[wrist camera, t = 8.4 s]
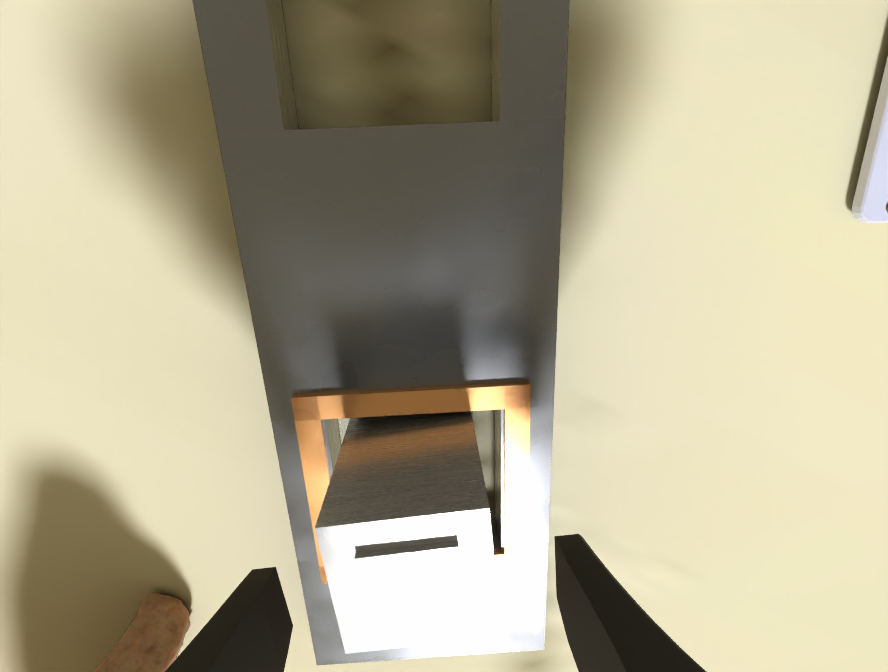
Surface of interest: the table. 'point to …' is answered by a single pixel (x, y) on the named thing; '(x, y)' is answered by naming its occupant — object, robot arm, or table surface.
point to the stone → (150, 637)
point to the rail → (402, 282)
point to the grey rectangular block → (409, 534)
